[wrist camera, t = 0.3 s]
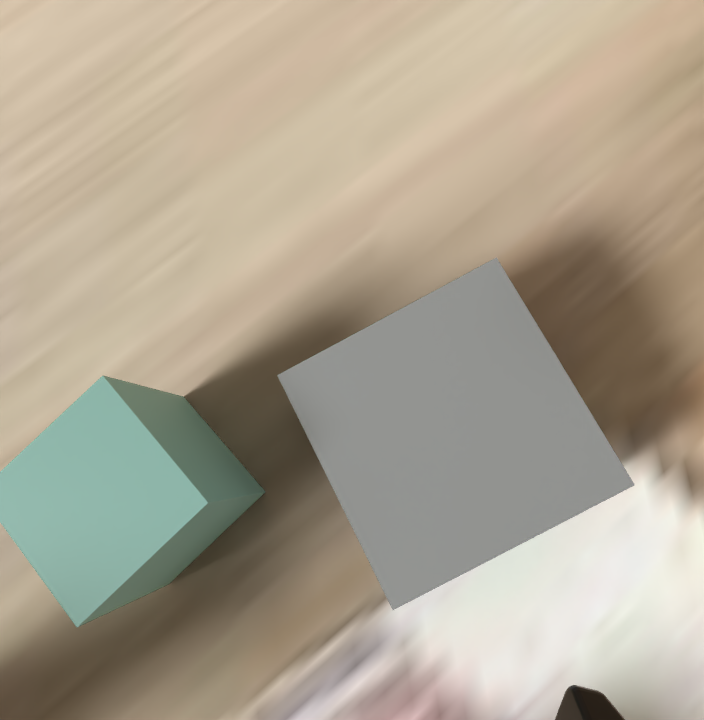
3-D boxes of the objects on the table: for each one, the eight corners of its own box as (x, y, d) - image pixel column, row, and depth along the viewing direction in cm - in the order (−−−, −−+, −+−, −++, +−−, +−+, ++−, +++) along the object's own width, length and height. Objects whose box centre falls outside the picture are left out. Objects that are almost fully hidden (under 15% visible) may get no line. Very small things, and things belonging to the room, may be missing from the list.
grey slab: (596, 480, 21) (634, 485, 17) (399, 582, 22) (392, 610, 18) (485, 292, 23) (496, 257, 19) (302, 389, 23) (277, 375, 19)
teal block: (266, 491, 23) (207, 502, 17) (169, 584, 22) (77, 627, 17) (184, 396, 24) (102, 375, 18) (91, 484, 23) (-22, 492, 18)
